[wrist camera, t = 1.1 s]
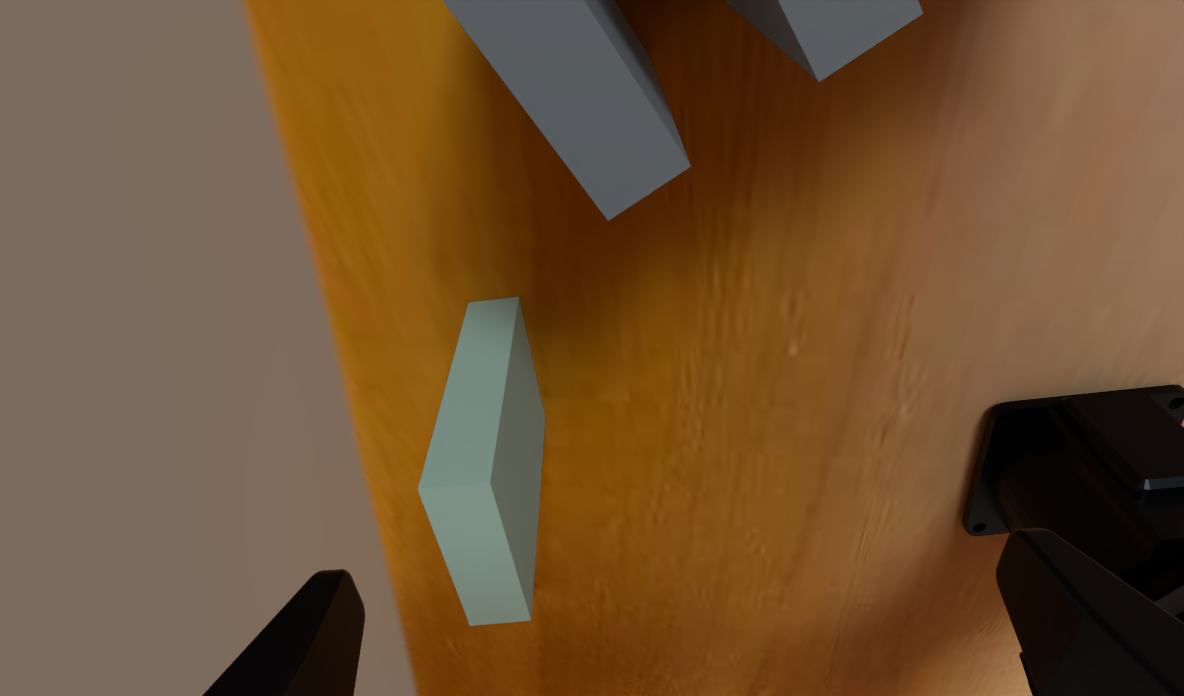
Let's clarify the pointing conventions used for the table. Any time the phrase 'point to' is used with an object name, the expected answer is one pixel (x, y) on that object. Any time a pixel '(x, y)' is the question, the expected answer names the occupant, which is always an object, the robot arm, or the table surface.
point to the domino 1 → (583, 91)
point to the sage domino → (488, 465)
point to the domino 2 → (826, 27)
